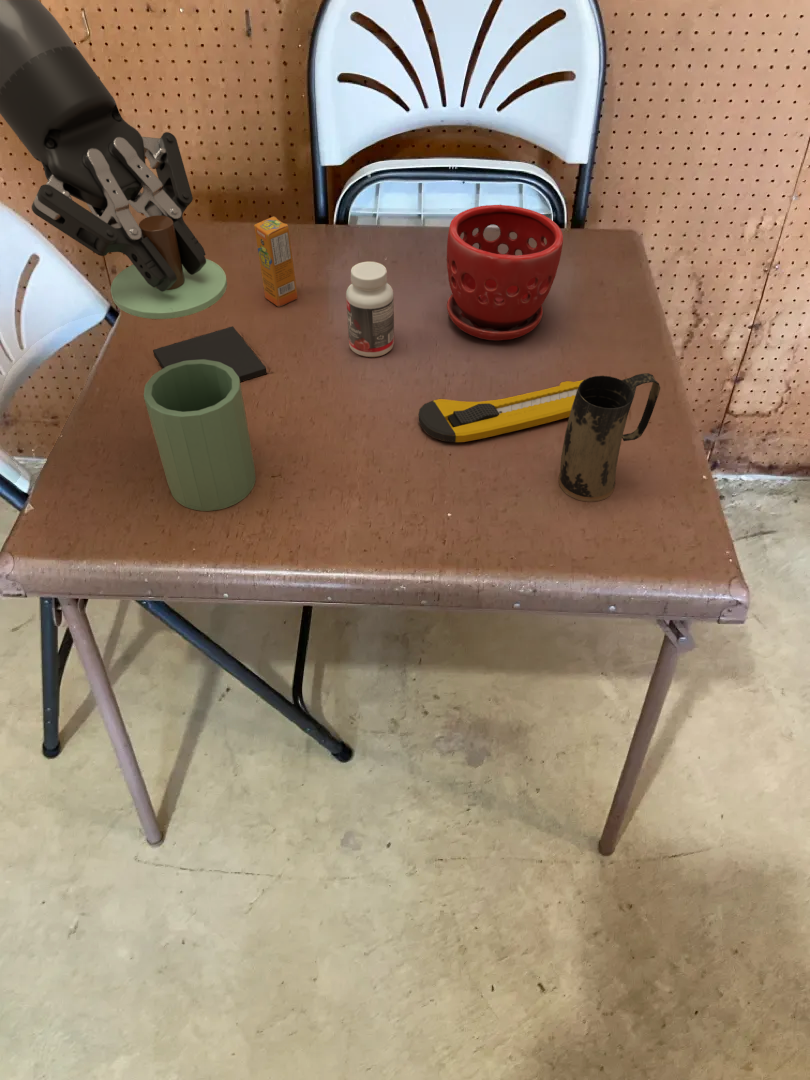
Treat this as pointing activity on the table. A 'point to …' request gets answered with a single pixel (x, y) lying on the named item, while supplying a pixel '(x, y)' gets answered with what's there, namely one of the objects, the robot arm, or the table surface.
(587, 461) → the mug
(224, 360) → the mat
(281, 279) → the supplement box
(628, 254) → the table surface
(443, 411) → the utility knife
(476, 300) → the flower pot
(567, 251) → the table surface
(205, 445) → the canister
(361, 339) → the pill bottle
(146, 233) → the stopper
